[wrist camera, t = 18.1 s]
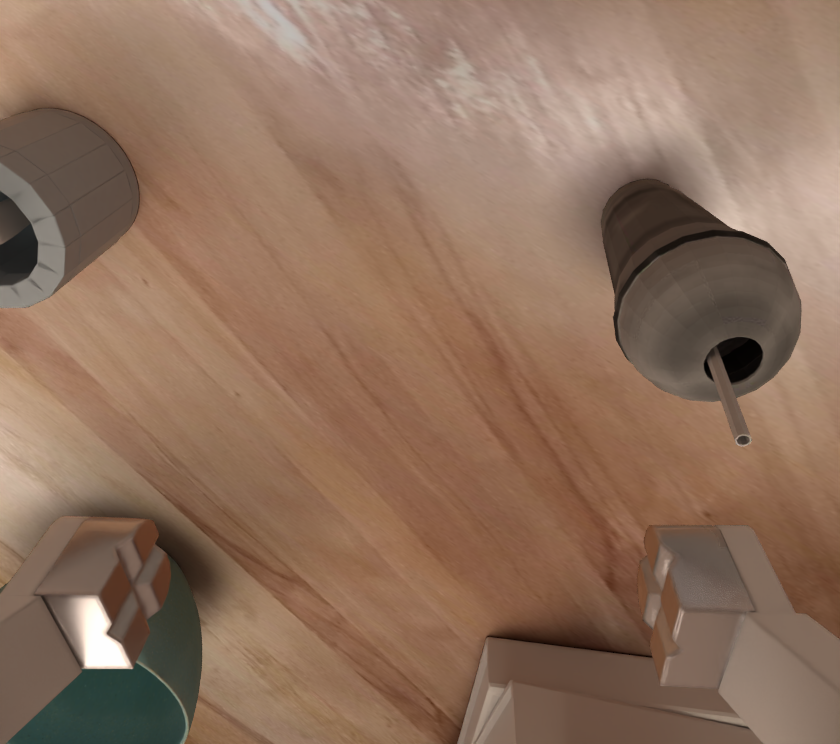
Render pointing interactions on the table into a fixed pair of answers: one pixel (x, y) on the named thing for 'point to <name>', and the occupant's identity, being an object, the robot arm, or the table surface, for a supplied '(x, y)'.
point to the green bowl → (133, 686)
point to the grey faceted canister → (60, 200)
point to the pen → (11, 220)
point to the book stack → (588, 701)
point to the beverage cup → (697, 298)
